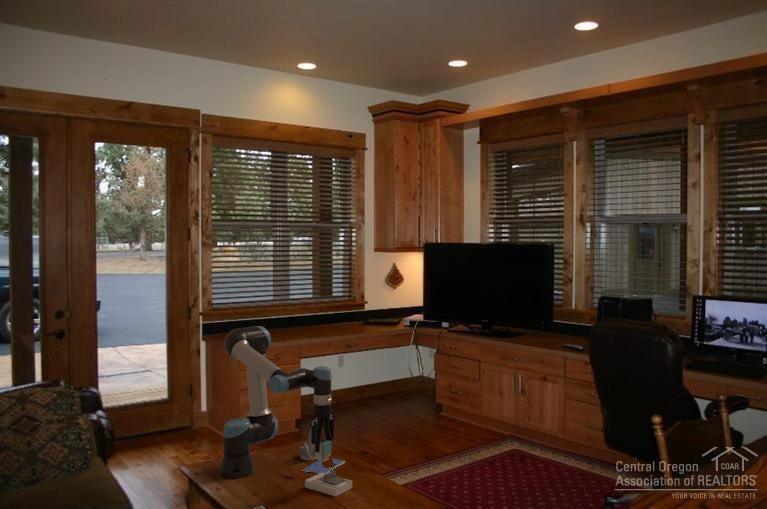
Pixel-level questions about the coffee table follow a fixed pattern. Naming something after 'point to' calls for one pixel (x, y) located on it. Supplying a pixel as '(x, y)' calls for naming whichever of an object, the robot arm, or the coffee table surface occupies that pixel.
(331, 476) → the shutter
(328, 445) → the plug
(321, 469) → the blue flat panel
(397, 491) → the coffee table surface
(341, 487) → the grey tray
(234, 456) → the robot arm
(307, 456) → the crystal
